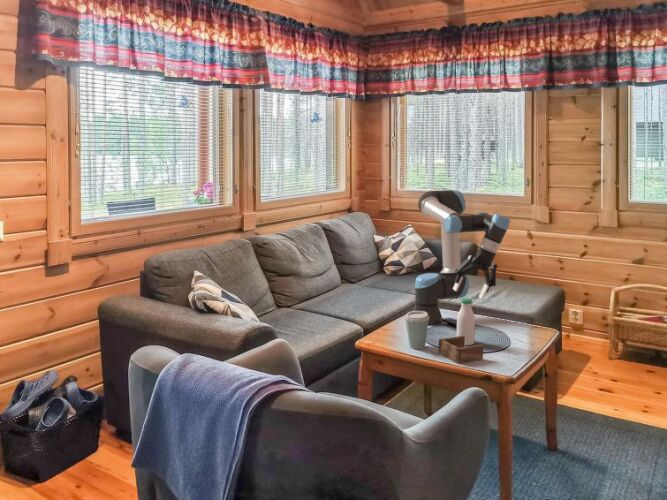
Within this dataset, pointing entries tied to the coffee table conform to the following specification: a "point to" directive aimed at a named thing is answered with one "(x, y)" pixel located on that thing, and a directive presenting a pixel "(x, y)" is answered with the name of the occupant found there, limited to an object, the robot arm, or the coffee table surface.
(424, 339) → the disposable coffee cup
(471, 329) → the milk bottle
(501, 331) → the coffee table surface
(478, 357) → the wooden open tray
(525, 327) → the coffee table surface
